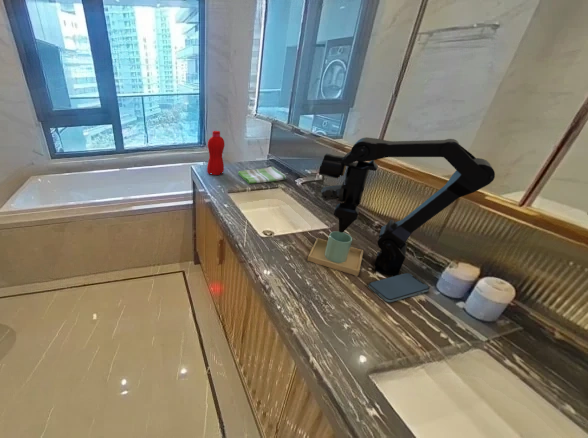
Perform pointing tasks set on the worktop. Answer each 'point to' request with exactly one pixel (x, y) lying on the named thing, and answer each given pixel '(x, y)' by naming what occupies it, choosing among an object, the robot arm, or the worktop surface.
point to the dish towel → (262, 175)
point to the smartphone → (398, 287)
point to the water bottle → (215, 154)
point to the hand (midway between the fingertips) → (342, 225)
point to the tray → (348, 266)
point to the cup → (338, 246)
